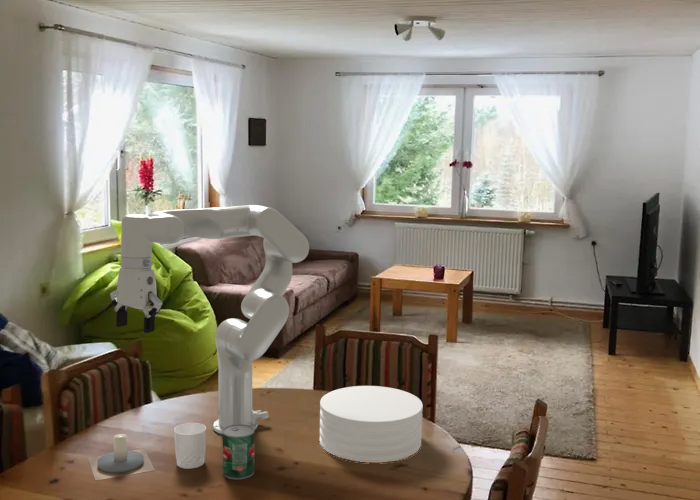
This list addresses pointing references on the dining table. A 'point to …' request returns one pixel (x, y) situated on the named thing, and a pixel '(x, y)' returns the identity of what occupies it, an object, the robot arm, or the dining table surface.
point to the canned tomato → (238, 451)
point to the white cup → (190, 445)
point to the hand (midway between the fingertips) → (135, 328)
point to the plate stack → (370, 423)
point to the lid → (120, 458)
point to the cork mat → (101, 475)
